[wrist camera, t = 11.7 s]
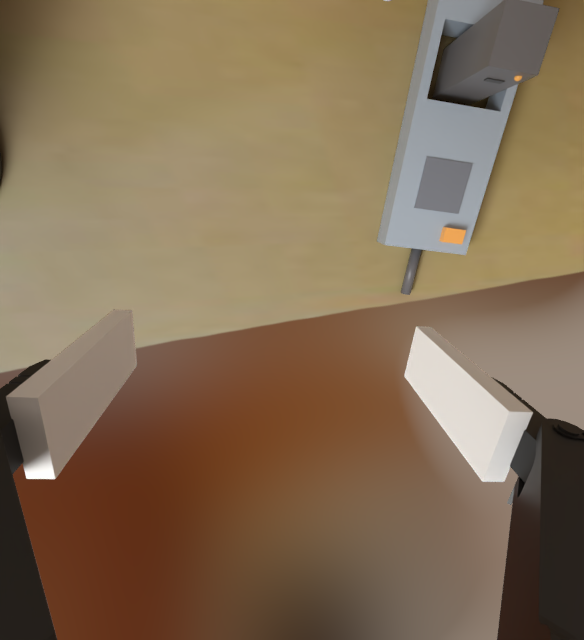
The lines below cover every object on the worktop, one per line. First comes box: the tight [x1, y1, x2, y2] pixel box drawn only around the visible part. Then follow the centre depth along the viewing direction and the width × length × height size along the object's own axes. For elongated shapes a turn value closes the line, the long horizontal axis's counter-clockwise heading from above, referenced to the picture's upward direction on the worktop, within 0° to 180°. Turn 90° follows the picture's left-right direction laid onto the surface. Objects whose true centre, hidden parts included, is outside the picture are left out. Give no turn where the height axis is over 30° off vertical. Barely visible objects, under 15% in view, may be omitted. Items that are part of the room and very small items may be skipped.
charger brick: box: [433, 0, 559, 105], centre depth 31 cm, size 4×5×10 cm
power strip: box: [377, 0, 544, 295], centre depth 37 cm, size 10×30×4 cm, turn 173°
